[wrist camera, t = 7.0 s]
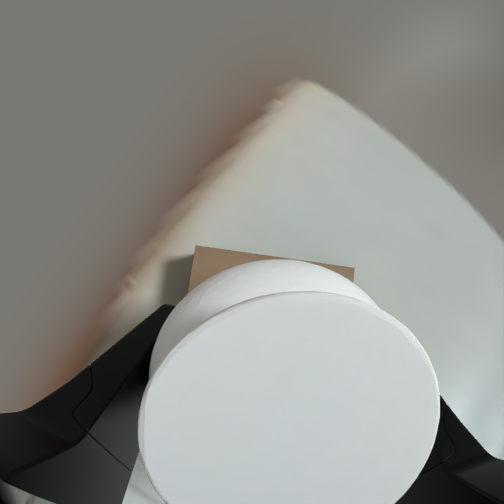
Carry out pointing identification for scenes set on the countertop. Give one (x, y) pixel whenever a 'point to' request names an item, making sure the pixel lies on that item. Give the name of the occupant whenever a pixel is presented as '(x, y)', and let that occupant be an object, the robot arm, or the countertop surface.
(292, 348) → the supplement bottle
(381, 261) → the countertop surface
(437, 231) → the countertop surface
